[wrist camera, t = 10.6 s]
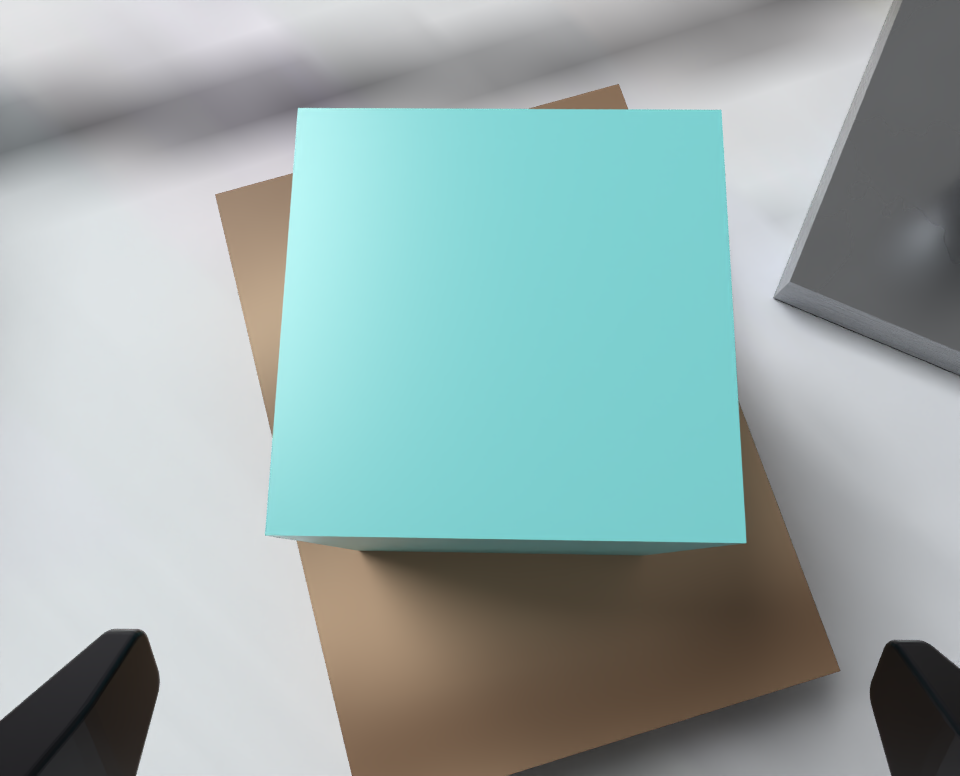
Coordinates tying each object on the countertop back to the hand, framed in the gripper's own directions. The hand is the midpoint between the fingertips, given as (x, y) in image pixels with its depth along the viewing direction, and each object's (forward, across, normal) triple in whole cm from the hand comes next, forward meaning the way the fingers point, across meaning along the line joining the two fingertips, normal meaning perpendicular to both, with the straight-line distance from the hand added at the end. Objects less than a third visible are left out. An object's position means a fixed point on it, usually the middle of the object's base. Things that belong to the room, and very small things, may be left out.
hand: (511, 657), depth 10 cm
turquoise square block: (+8, 0, +2) cm, 8 cm away
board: (+10, 0, +4) cm, 11 cm away
